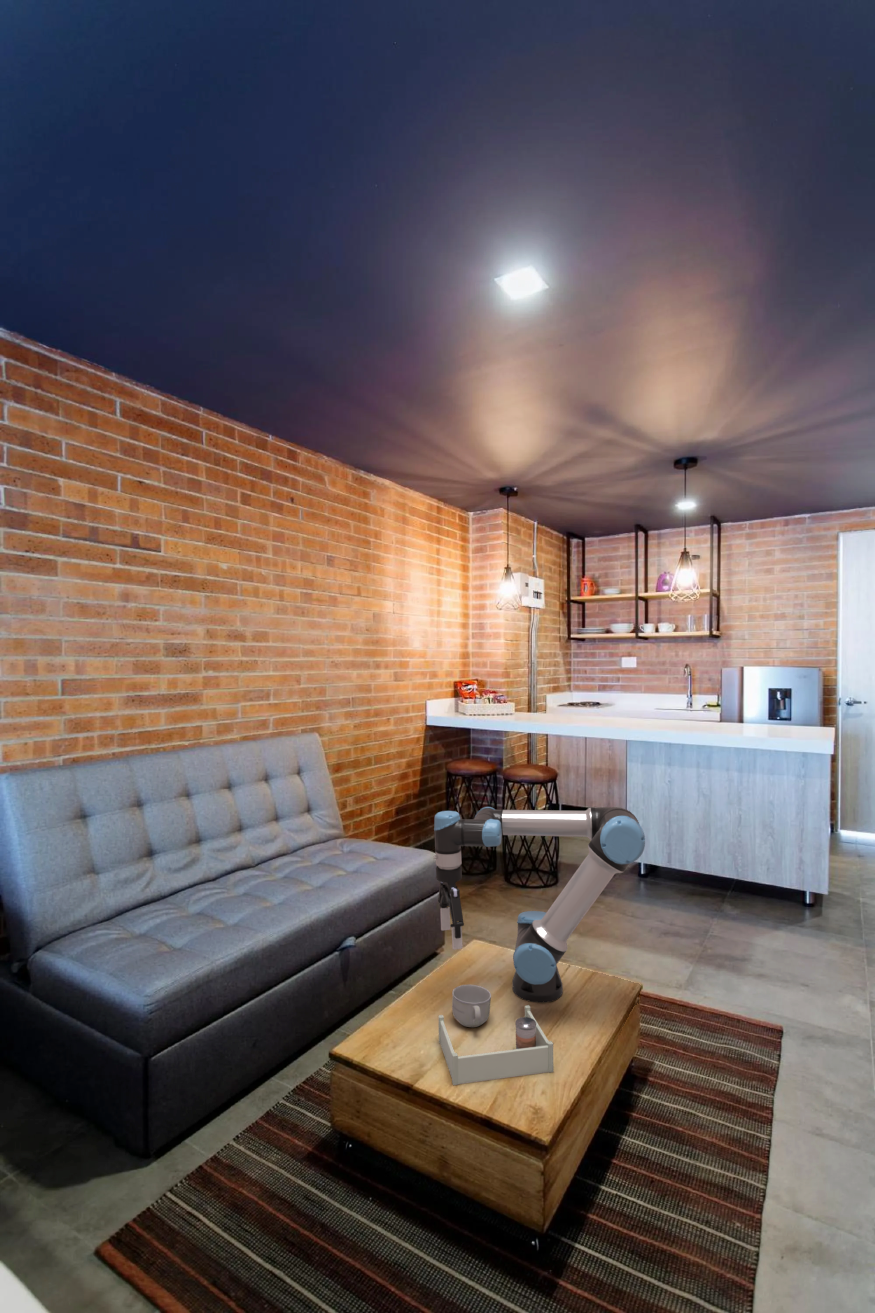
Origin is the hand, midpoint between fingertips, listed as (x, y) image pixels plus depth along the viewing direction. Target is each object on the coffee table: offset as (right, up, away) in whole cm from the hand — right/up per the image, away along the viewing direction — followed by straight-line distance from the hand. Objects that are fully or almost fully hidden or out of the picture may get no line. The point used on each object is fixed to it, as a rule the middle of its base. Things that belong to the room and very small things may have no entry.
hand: (451, 939), depth 187 cm
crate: (+10, -19, -24) cm, 32 cm away
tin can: (+18, -19, -24) cm, 36 cm away
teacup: (+5, -20, -10) cm, 23 cm away
